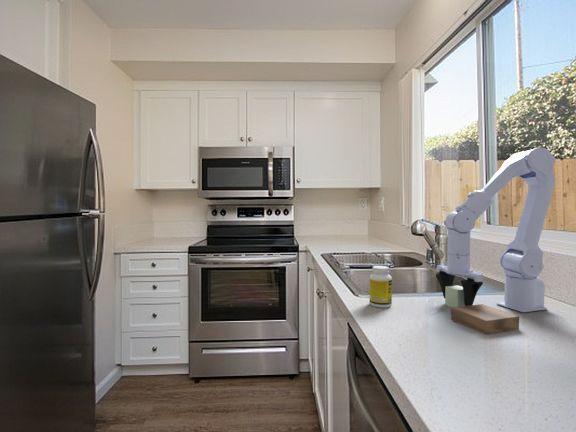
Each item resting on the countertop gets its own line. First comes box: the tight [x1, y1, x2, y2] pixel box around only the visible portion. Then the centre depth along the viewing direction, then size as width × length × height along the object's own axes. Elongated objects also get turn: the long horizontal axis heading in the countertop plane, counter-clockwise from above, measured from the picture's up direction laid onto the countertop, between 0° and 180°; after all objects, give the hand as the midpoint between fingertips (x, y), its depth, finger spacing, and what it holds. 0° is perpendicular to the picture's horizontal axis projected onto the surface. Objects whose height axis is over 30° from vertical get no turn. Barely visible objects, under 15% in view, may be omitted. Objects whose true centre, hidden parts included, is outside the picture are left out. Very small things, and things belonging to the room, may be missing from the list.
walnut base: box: [450, 303, 520, 335], centre depth 81 cm, size 10×10×3 cm
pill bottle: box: [369, 265, 393, 309], centre depth 96 cm, size 6×6×11 cm
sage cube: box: [444, 285, 465, 308], centre depth 95 cm, size 4×4×6 cm
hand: (457, 301), depth 95 cm, fingers open, 7 cm apart
